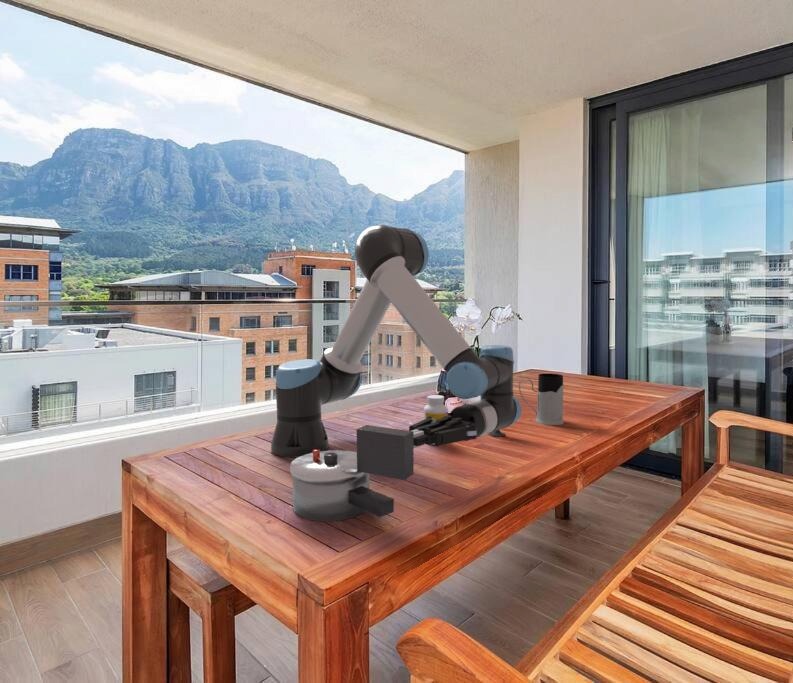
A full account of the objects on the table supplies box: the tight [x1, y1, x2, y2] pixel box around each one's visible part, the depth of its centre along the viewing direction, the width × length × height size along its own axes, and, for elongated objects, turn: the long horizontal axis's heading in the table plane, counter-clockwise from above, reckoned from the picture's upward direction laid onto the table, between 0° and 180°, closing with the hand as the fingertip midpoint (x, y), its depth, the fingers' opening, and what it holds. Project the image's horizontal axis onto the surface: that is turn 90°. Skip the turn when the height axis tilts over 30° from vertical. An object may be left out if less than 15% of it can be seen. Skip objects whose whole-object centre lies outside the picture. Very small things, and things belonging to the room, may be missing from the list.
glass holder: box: [518, 373, 565, 426], centre depth 163 cm, size 9×14×15 cm, turn 70°
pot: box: [291, 473, 395, 522], centre depth 98 cm, size 26×15×7 cm, turn 44°
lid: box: [289, 424, 415, 484], centre depth 97 cm, size 25×16×9 cm, turn 62°
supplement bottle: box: [423, 394, 449, 446], centre depth 141 cm, size 7×7×13 cm
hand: (397, 444), depth 95 cm, fingers closed
